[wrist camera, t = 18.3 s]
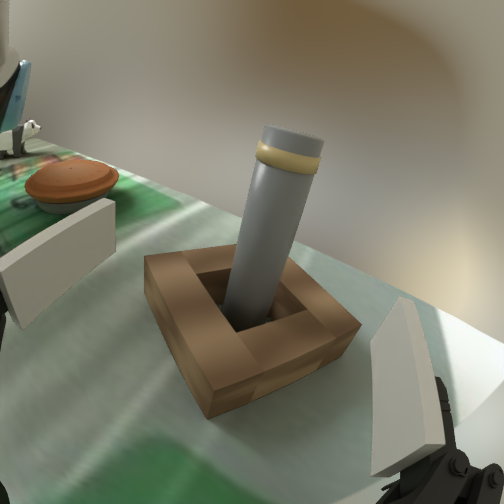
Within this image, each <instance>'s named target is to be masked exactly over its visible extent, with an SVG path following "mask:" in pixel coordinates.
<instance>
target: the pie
mask: <svg viewBox="0 0 504 504" xmlns="http://www.w3.org/2000/svg"><path fill="white" fill-rule="evenodd" d="M118 178H119V174H118V172H117V170H115V169H113V168H112V167H109V166H107V165H106V164H104V163H101V162H98V161H91V160H72V161H64V162H59V163H55V164H51V165H49V166H46V167H44V168H42V169H40V170H38V171H37V172H36V173H35V174H33V175H31V176H30V178H29V179H28V180H27V181H26V183H25V186H24V187H25V190H26V192H27V193H28V194H29V195H30V196H31V197H32V198H33V199H34V201H35V202H36V203H37V205H38V206H39V207H40V208H41V209H42V210H43V211H45V212H47V213H51V214H59V215H67V214H73V213H75V212H77V211H79V210H81V209H83V208H85V207H87V206H89V205H91V204H92V203H94V202H96V201H98V200H100V199H102V198H106V197H107V195H108V194H109V192H110V190H111V188H112V187H113V186H114V185H115V184H116V182H117V181H118Z"/></svg>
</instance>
